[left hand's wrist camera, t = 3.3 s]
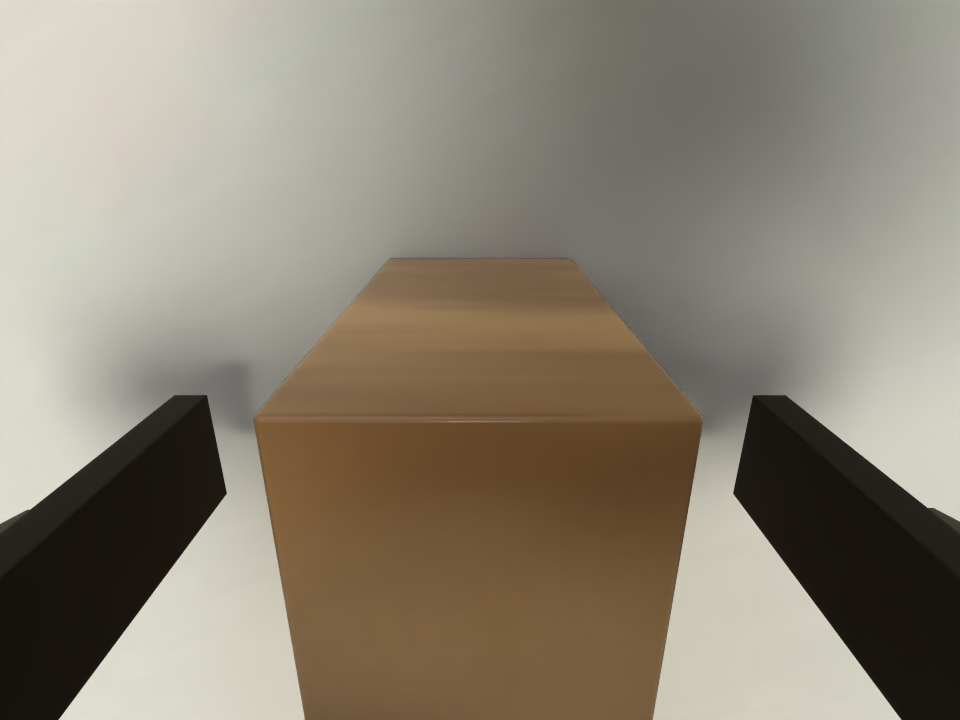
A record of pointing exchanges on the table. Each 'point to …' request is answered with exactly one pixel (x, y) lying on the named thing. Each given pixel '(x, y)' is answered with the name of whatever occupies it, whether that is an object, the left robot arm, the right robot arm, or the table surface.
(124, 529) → the left robot arm
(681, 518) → the bar
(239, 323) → the table surface
